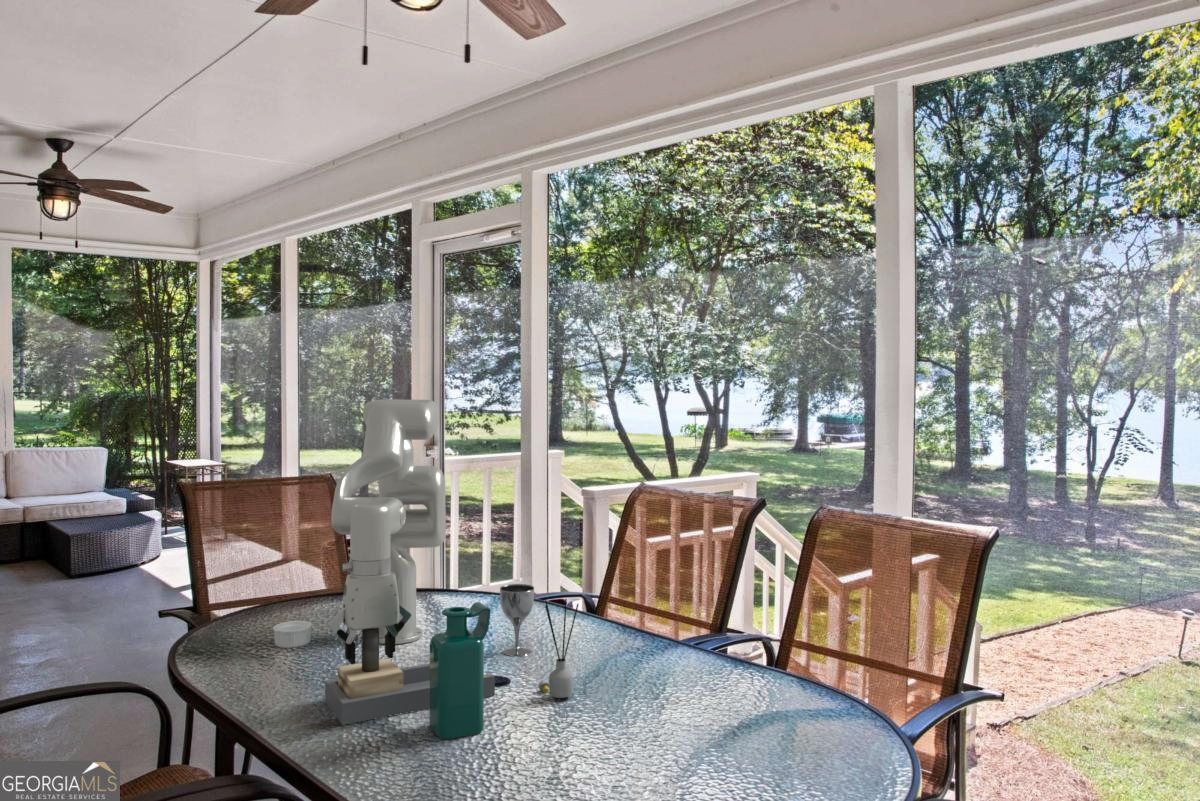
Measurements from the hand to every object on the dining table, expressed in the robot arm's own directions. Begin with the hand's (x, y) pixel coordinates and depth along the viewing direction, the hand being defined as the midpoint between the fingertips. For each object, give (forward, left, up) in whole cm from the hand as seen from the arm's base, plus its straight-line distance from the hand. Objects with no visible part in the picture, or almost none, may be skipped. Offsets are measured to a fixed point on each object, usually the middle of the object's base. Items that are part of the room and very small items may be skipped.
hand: (370, 658), depth 165 cm
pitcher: (+19, +11, -9) cm, 24 cm away
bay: (0, +8, -9) cm, 12 cm away
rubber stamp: (0, 0, -8) cm, 8 cm away
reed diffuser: (+14, +33, -9) cm, 37 cm away
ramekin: (-50, -5, -10) cm, 51 cm away
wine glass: (-17, +39, -9) cm, 44 cm away
